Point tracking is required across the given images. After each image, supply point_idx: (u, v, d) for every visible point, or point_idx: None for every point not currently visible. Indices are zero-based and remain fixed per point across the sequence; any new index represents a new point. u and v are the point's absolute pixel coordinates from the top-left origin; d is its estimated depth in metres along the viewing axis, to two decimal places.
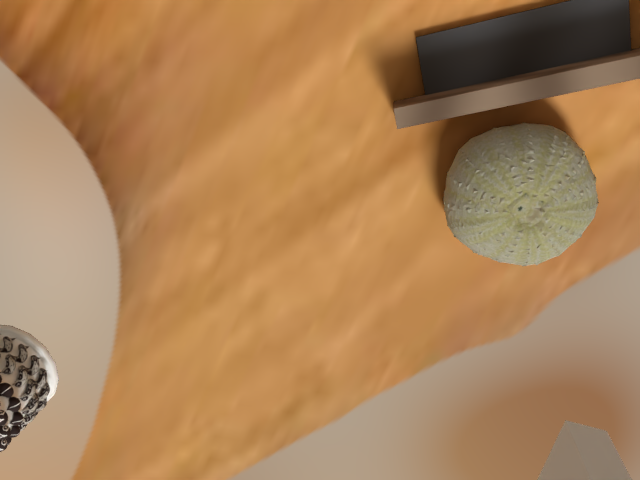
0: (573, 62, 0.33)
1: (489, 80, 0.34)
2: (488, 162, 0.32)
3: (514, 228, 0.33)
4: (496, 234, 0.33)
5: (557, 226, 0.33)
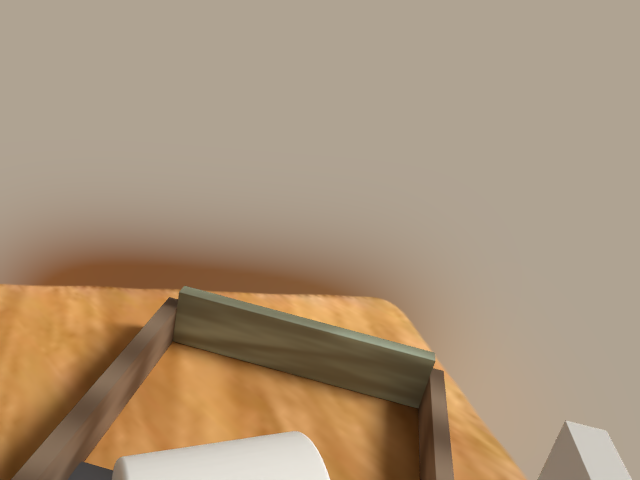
0: None
1: None
2: None
3: None
4: None
5: None
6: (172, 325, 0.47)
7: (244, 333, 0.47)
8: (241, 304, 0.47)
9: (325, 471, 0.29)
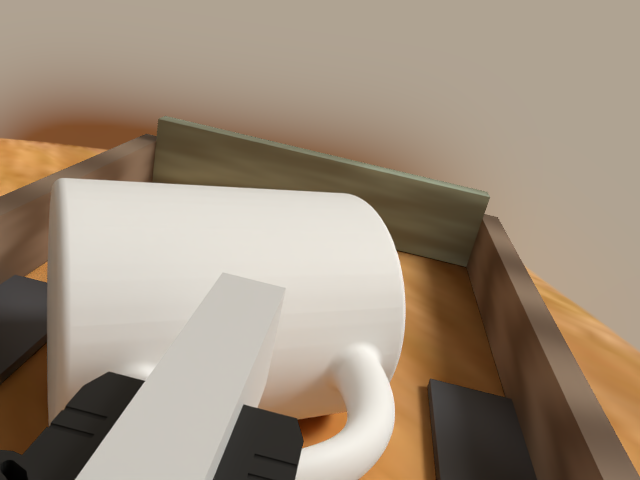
0: (528, 451, 0.20)
1: None
2: None
3: None
4: None
5: None
6: (150, 164, 0.37)
7: (243, 173, 0.37)
8: (239, 135, 0.37)
9: (380, 218, 0.18)
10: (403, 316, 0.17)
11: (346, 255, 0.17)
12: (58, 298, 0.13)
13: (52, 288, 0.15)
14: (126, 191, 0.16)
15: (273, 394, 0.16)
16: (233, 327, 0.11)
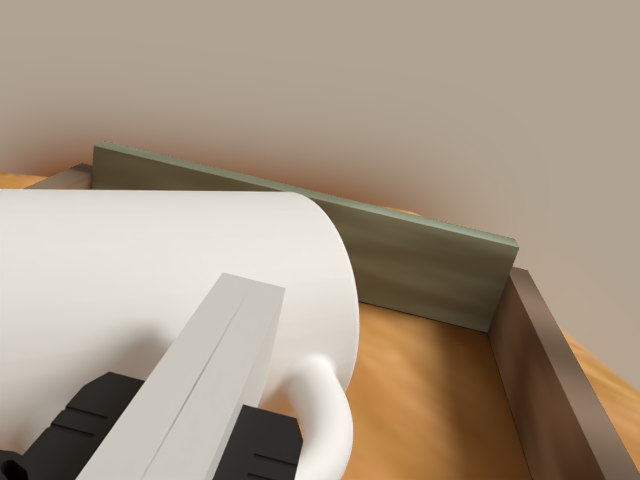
0: None
1: None
2: None
3: None
4: None
5: None
6: None
7: None
8: (198, 166, 0.29)
9: (328, 218, 0.17)
10: (357, 322, 0.16)
11: (294, 261, 0.16)
12: None
13: None
14: (42, 201, 0.14)
15: None
16: (233, 327, 0.11)
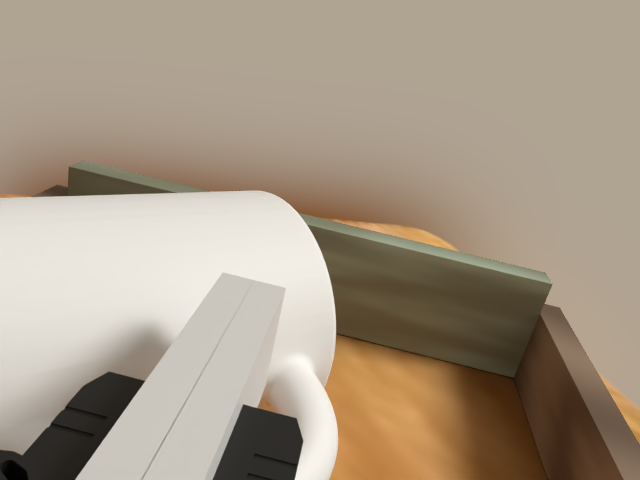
0: None
1: None
2: None
3: None
4: None
5: None
6: None
7: None
8: (187, 189, 0.25)
9: (300, 217, 0.17)
10: (334, 320, 0.16)
11: (270, 263, 0.15)
12: None
13: None
14: (5, 212, 0.13)
15: None
16: (233, 327, 0.11)
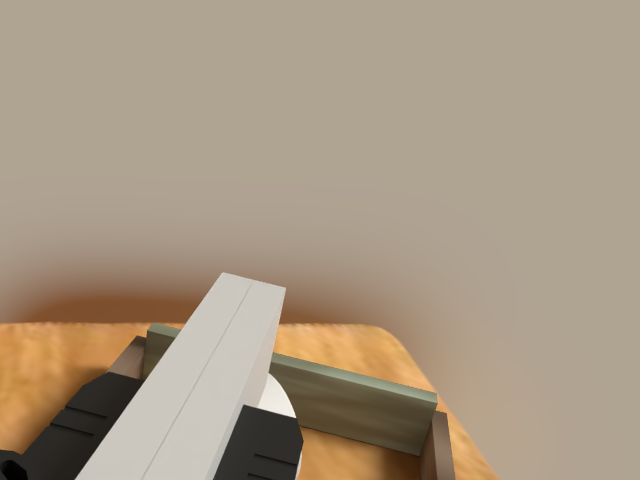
0: None
1: None
2: None
3: None
4: None
5: None
6: (140, 368, 0.42)
7: None
8: None
9: (283, 392, 0.34)
10: None
11: None
12: None
13: None
14: None
15: None
16: (233, 327, 0.11)
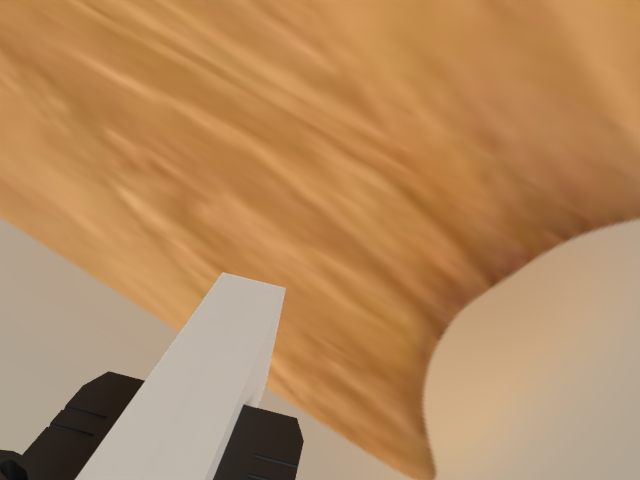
0: None
1: None
2: None
3: None
4: None
5: None
6: None
7: None
8: None
9: None
10: None
11: None
12: None
13: None
14: None
15: None
16: (233, 327, 0.11)
